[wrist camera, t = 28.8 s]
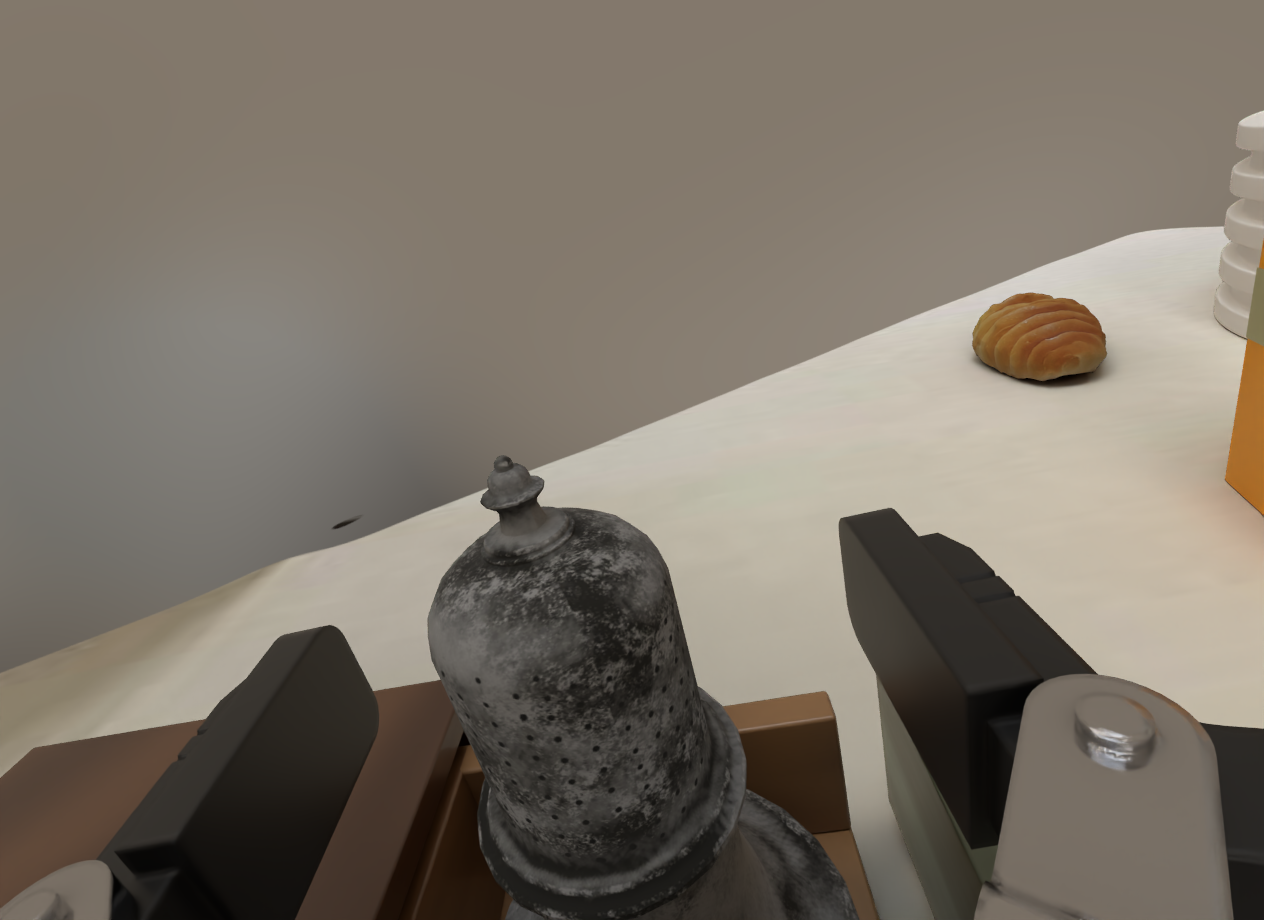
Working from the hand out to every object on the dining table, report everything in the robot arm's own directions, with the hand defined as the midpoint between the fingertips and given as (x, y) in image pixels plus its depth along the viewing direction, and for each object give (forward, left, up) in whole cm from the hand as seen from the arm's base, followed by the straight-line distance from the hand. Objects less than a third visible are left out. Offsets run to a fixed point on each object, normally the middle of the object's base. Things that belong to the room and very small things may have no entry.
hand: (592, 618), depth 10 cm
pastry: (-6, +41, -10) cm, 43 cm away
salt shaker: (+2, -1, -8) cm, 9 cm away
